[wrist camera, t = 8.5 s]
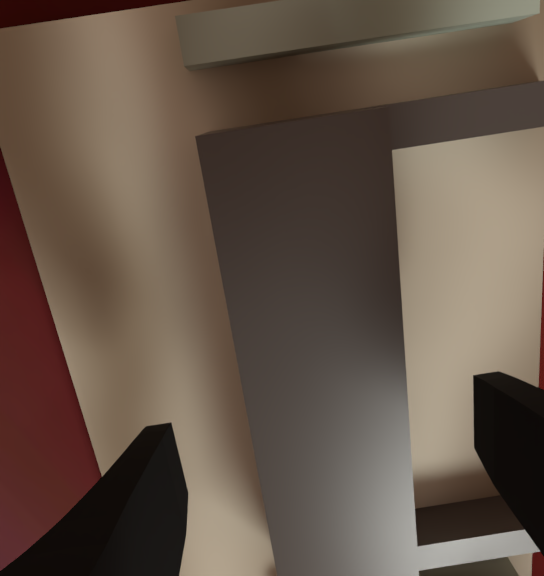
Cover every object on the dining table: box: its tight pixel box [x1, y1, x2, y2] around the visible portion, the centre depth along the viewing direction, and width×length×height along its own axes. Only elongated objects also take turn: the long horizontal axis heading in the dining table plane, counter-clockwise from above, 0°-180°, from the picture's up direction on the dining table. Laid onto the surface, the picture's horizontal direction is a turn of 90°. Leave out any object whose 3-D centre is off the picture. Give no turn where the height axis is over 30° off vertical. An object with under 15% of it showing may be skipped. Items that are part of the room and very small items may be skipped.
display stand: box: [0, 0, 544, 576], centre depth 15 cm, size 14×20×3 cm
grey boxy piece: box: [195, 80, 544, 576], centre depth 13 cm, size 8×14×4 cm, turn 8°
